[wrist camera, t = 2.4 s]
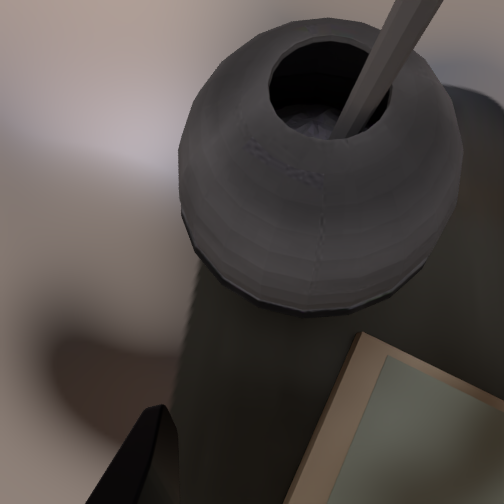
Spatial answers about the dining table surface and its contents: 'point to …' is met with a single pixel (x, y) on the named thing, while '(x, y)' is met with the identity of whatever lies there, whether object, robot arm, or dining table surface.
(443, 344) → the dining table surface
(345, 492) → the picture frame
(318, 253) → the beverage cup
